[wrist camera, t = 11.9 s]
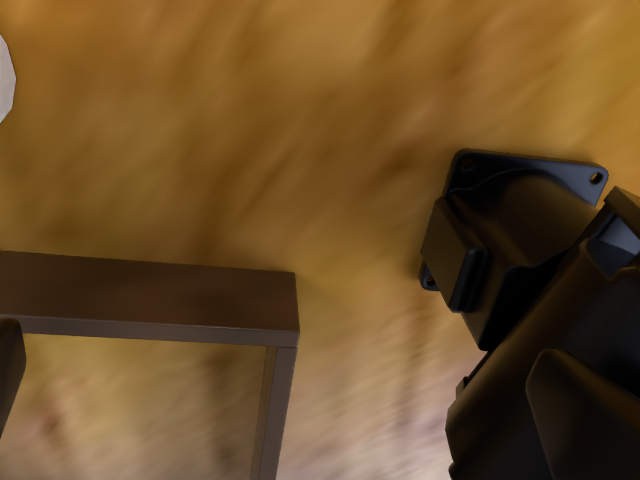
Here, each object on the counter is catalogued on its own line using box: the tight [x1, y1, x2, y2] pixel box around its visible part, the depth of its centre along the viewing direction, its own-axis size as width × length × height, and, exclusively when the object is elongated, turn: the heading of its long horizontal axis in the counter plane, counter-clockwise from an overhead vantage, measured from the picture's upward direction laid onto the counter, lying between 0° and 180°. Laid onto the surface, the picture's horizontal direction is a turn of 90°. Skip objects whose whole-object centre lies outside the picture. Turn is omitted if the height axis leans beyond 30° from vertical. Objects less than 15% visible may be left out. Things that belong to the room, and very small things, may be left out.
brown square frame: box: [0, 251, 300, 480], centre depth 23 cm, size 17×16×4 cm
